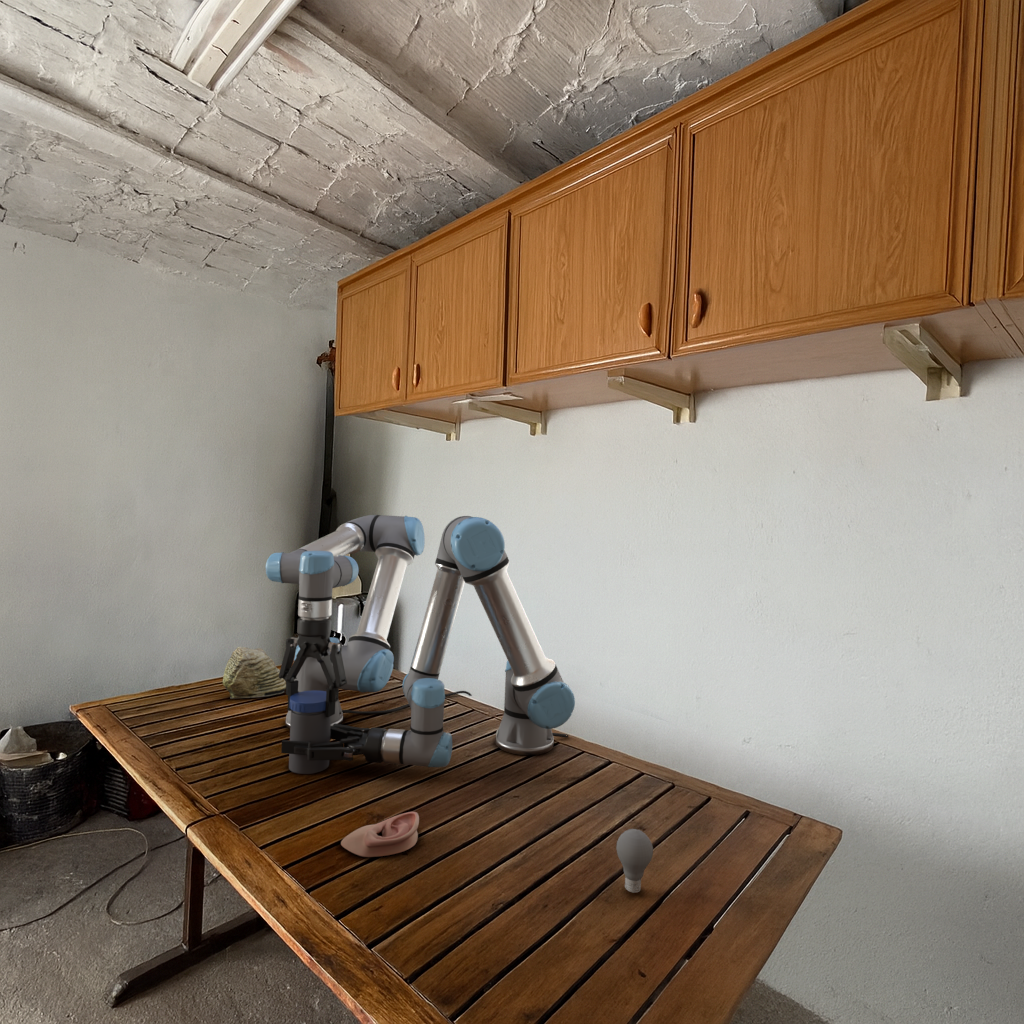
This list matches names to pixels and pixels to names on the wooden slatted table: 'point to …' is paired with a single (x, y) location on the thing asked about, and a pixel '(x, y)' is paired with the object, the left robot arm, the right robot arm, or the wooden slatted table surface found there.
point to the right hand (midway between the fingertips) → (291, 738)
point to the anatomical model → (384, 836)
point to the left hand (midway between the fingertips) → (311, 712)
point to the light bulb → (634, 857)
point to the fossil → (252, 674)
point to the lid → (308, 701)
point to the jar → (309, 739)
